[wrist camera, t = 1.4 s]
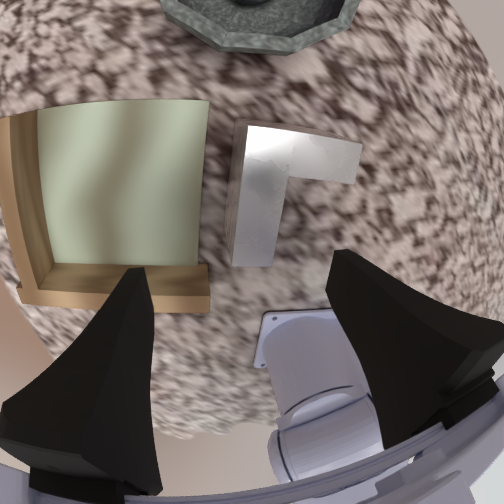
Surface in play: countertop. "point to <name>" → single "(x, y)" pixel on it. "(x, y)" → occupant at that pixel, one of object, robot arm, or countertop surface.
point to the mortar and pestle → (261, 22)
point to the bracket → (275, 180)
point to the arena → (106, 201)
